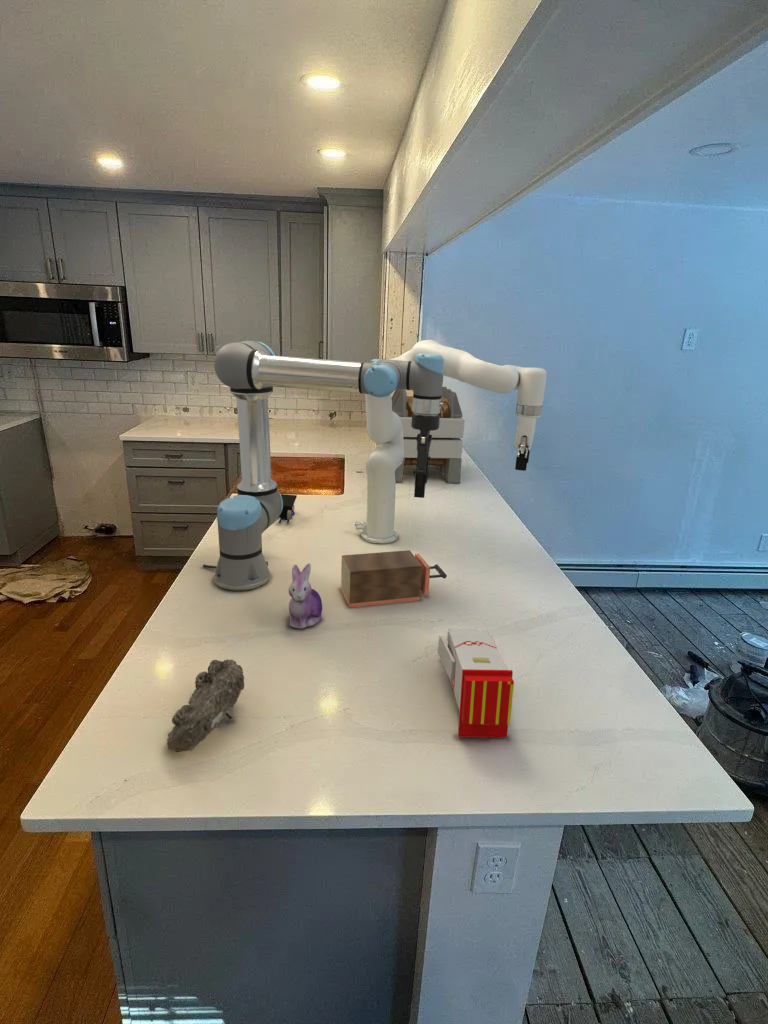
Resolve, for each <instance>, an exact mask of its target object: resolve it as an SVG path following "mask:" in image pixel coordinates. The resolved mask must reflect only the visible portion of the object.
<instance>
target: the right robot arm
mask: <svg viewBox="0 0 768 1024" xmlns="http://www.w3.org/2000/svg"><path fill="white" fill-rule="evenodd" d="M420 353H424V354H438V355H441V356H442V357H443V358H444V375H443V377H447V378H451V379H453V380H457V381H459V382H461V383H465V384H467V385H471V386H474V387H476V388H479V389H483V390H487V391H490V392H493V393H497V394H504V395H505V394H508V393H511V392H512V391H515V390H517V398H516V407H515V415H516V416H517V424H516V431H515V438H514V444H513V448H514V449H515V450H517V456H516V459H515V464H514V465H515V467H514V469H515V470H516V471H521V472H526V471H527V467H528V464H529V460H530V452H531V451H530V450H531V449H532V445H533V442H534V438H535V434H536V433H535V432H536V426H537V419H538V418H542V414H543V405H544V398H545V393H546V385H547V384H546V383H547V376H548V373H547V370H546V369H544V368H542V367H534V366H528V367H527V366H526V367H525V366H518V365H513V364H504V365H499V364H495V363H492V362H488V361H486V360H482V359H479V358H477V357H475V356H473V355H472V354H471V353H470V352H468V351H466V350H464V349H463V350H462V349H458V348H456V347H455V348H454V347H450V346H448V345H444V344H441V343H439V342H437V341H436V340H434V339H423V340H419V341H417V342H416V343H415V344H414V345H413V346H412V348H411V349H409V350H408V351H405V352H404V353H402V354H400V355H399V356H396V357H392V358H388V359H389V360H401V361H415V358H416V355H417V354H420ZM391 398H392V394H390V395H388V396H386V397H374V396H372V395H370V394H364V400H365V417H366V418H365V419H366V433H367V436H368V438H369V440H370V441H371V442H372V443H374V444H376V448H375V449H373V450H372V451H371V452H370V453H369V455H368V457H367V458H366V463H365V464H366V465H365V466H366V467H365V470H366V480H367V483H366V519H365V520H366V521H364V522H362V521H355V522H354V527H355V529H356V530H361V534H360V535H361V538H362V539H363V540H364V541H366V542H368V543H373V544H389V543H393V542H395V541H397V540H398V537H399V534H398V532H397V531H396V530H395V528H394V527H395V510H396V509H395V508H396V507H395V506H396V491H397V490H396V489H397V487H396V485H397V484H396V483H397V482H395V470H396V469H397V468H398V467H399V466H400V465H401V464H402V462H403V459H404V440H403V426H402V422H401V419H400V417H399V416H398V415H397V414H396V413H395V412H393V411H392V399H391Z"/></svg>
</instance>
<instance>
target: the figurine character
mask: <svg viewBox="0 0 768 1024" xmlns="http://www.w3.org/2000/svg"><path fill="white" fill-rule="evenodd" d="M280 494H281V496H282V500H283V509H282V512H281V514H280V516H279V517H278V519H277V520H278V524H279V525H280V524H282V522H286V524H287V525H289V523H290V520H291V521H292V519H293V517H294V516H295V515H296V512H295V508H296V507H295V502H296V500H297V497H298V495H297V494H285V493H280ZM277 520H276V521H277Z"/></svg>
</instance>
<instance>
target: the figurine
mask: <svg viewBox="0 0 768 1024" xmlns="http://www.w3.org/2000/svg"><path fill="white" fill-rule="evenodd" d="M311 569H312V565H311V563H307V564H306V565H305V566H304V567H303V569H302V570H301V571H300V568H299V566H298V565H297V564H293V565H292V568H291V576H292V577H291V578H292V580H291V583H290V584H289V588H288V595H289V596H290V600H289V602H288V611H289V626H290V627H291V628H296V629H305V628H307V627H312V626H315V625H316V624H318V623H319V622H320V621H321V620H322V614H323V600H322V597H321V595H320V594H319V592H318V591H317V590H316V589H314V588H312V586H311V583H310V581H309V577H310V574H311Z"/></svg>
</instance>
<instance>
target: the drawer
mask: <svg viewBox="0 0 768 1024" xmlns="http://www.w3.org/2000/svg"><path fill="white" fill-rule="evenodd" d="M414 556H415V557H416V559H417V560H418V561H419V562H420V564H421V565H422V576H421V590H420V592H421V593H422V594H423V596H429V589H430V579H437V578H438V579H439V578H442V579H447V577H448V575H447V574H446V572H445V571H444V570H443V569H442V568H441V567H440V566H439V564H434V565H431V566H430V565H429V564H428V563H427V562H426V560H425V559H424V558H423V556H421V554H420V553H415V554H414ZM431 570H435V571H436V572H437V574H431Z"/></svg>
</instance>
